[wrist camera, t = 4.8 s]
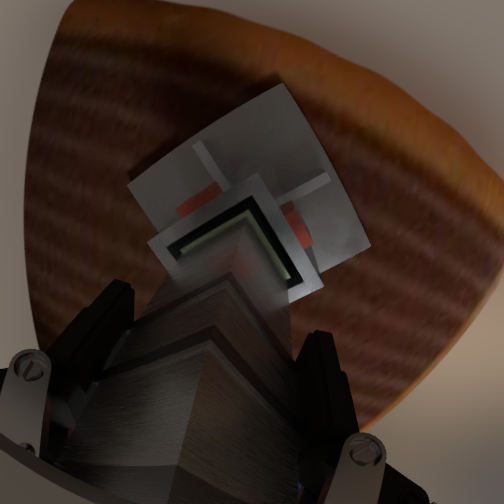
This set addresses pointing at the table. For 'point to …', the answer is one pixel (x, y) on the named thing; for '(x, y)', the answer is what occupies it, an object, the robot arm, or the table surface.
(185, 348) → the column
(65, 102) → the table surface
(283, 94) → the stand base
